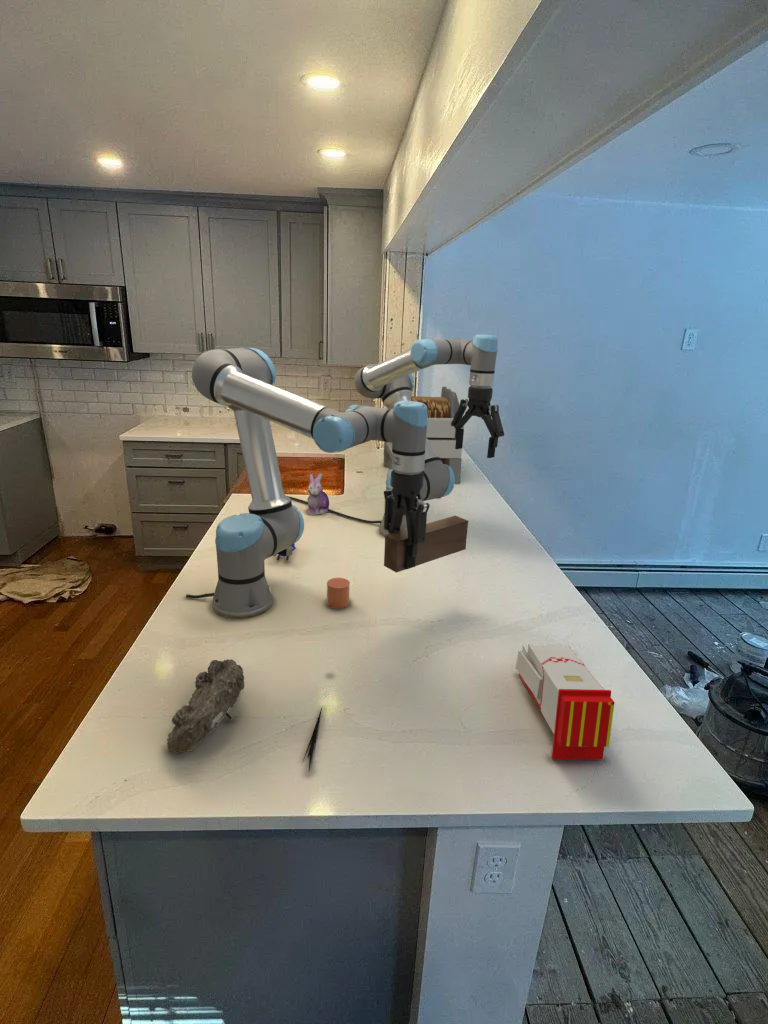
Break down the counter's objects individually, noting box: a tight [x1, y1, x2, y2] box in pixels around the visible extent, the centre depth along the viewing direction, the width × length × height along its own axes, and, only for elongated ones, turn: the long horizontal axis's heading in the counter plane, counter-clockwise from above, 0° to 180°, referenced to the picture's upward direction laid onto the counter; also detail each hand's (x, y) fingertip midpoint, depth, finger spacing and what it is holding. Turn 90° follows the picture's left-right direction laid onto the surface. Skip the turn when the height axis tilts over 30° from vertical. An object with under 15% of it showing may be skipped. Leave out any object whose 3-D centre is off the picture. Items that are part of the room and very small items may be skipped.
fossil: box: [166, 658, 245, 754], centre depth 106 cm, size 22×10×15 cm
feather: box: [301, 673, 332, 771], centre depth 108 cm, size 2×28×2 cm
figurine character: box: [272, 543, 297, 562], centre depth 178 cm, size 7×8×15 cm
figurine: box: [307, 472, 330, 516], centre depth 215 cm, size 9×10×15 cm
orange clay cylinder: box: [326, 577, 351, 609], centre depth 151 cm, size 6×6×6 cm
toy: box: [515, 643, 615, 761], centre depth 113 cm, size 12×13×30 cm
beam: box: [383, 515, 469, 574], centre depth 141 cm, size 5×24×8 cm, turn 130°
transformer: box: [383, 386, 465, 484], centre depth 268 cm, size 34×33×41 cm
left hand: (402, 563), depth 137 cm, fingers closed on beam, 5 cm apart
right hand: (474, 453), depth 184 cm, fingers open, 13 cm apart
